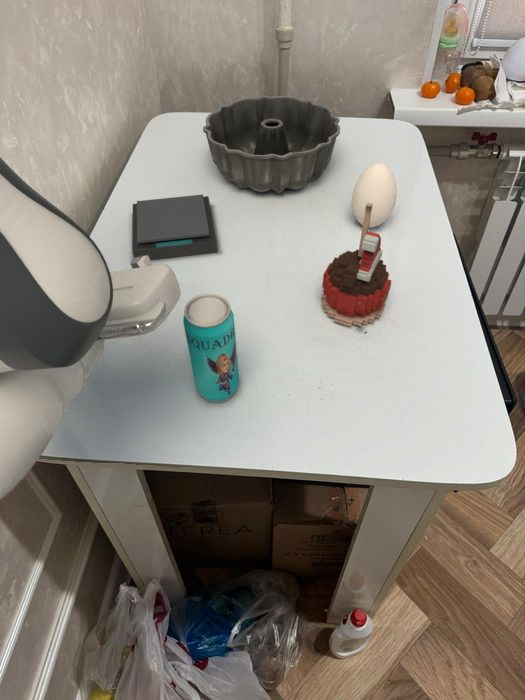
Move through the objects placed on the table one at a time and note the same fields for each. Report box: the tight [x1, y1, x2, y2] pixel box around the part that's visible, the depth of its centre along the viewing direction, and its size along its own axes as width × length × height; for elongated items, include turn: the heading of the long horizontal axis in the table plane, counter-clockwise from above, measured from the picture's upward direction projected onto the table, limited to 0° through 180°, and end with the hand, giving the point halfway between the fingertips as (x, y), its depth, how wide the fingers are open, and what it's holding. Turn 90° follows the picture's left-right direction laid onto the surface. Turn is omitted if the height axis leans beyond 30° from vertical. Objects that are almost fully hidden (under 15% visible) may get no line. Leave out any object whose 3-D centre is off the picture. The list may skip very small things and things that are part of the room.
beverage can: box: [182, 293, 240, 404], centre depth 61 cm, size 6×6×15 cm
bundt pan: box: [202, 95, 341, 194], centre depth 100 cm, size 26×26×10 cm
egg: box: [351, 162, 397, 228], centre depth 86 cm, size 7×7×12 cm
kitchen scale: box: [131, 194, 218, 261], centre depth 89 cm, size 14×14×4 cm
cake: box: [320, 203, 392, 327], centre depth 70 cm, size 11×9×18 cm
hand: (106, 268), depth 56 cm, fingers open, 8 cm apart
